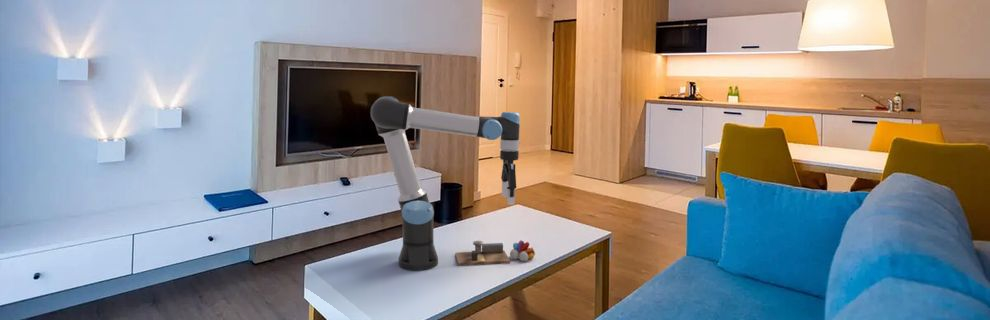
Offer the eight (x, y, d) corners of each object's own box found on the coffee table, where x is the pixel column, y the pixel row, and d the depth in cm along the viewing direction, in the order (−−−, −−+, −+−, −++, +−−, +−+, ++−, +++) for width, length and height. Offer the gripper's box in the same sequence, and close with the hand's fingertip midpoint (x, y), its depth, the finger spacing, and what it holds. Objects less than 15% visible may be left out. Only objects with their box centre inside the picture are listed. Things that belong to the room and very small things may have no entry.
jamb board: (458, 265, 203) (458, 252, 202) (455, 254, 216) (455, 241, 215) (509, 263, 206) (510, 249, 206) (503, 252, 219) (504, 239, 218)
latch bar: (482, 252, 214) (482, 245, 214) (481, 250, 217) (481, 243, 216) (502, 251, 216) (503, 244, 215) (501, 250, 218) (502, 242, 218)
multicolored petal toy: (528, 263, 206) (528, 245, 205) (506, 259, 211) (506, 241, 210) (538, 257, 213) (538, 240, 212) (517, 253, 218) (517, 236, 217)
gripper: (525, 154, 206) (523, 207, 209) (512, 146, 230) (511, 194, 233) (506, 154, 205) (504, 208, 208) (495, 145, 229) (494, 194, 232)
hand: (507, 200), depth 221 cm, fingers open, 13 cm apart
